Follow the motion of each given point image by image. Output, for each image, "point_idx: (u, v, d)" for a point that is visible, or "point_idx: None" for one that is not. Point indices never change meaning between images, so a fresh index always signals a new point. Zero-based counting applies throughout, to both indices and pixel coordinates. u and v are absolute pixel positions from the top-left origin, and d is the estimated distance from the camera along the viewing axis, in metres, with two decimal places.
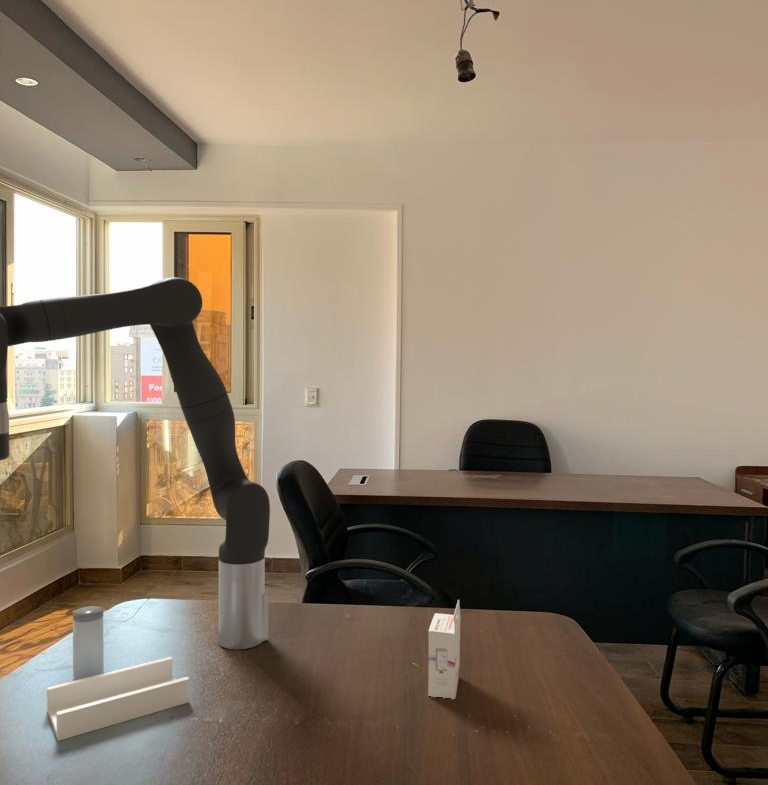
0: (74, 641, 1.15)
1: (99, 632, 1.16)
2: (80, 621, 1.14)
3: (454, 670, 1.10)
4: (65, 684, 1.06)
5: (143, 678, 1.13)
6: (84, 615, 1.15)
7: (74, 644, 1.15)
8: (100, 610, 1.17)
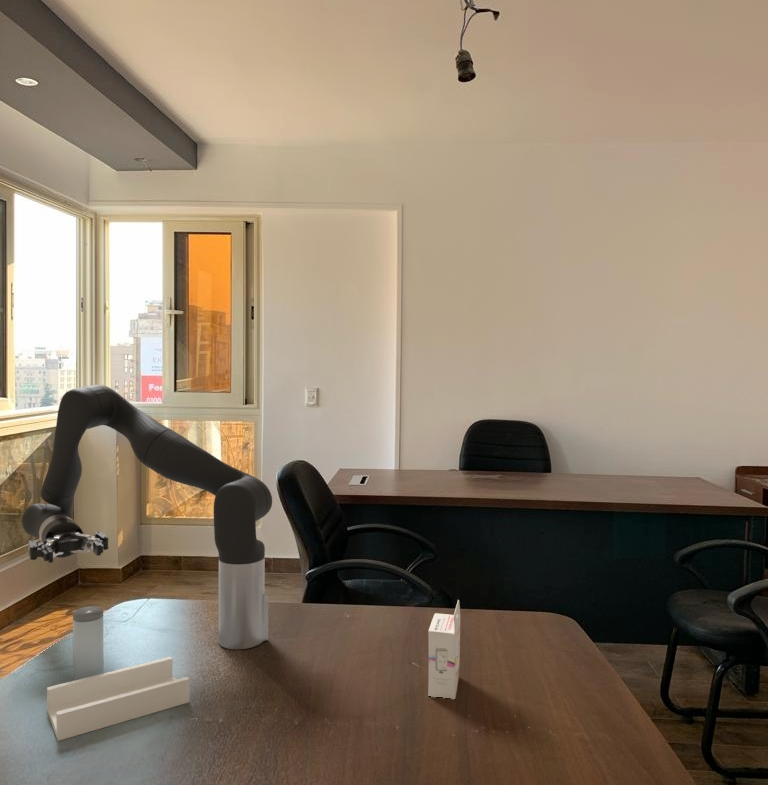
0: (74, 641, 1.15)
1: (99, 632, 1.16)
2: (80, 622, 1.14)
3: (454, 670, 1.10)
4: (65, 684, 1.06)
5: (143, 678, 1.13)
6: (84, 615, 1.15)
7: (74, 644, 1.15)
8: (100, 610, 1.17)
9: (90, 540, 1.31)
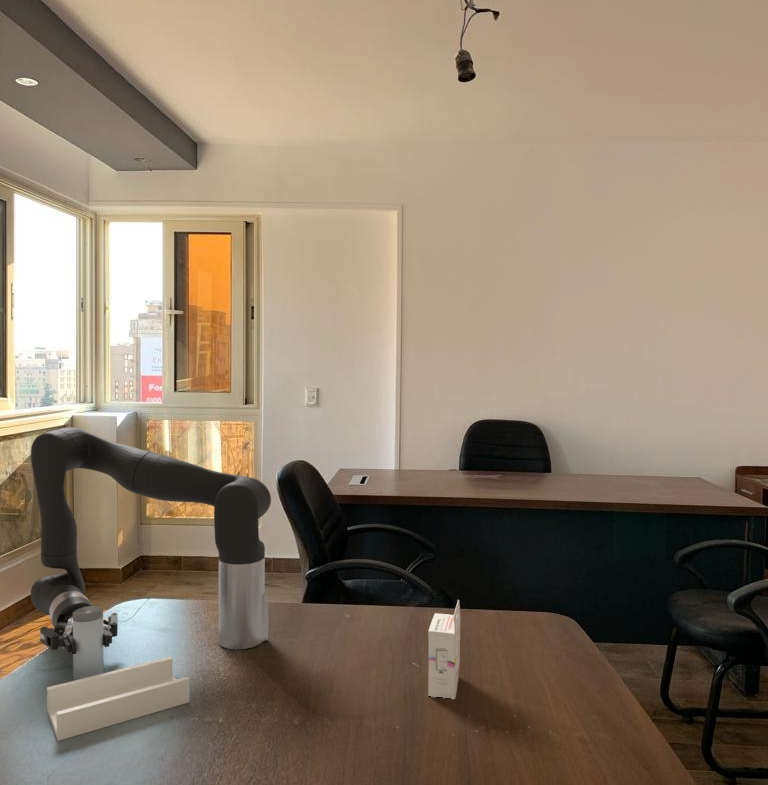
0: None
1: (99, 632, 1.16)
2: (80, 621, 1.14)
3: (454, 670, 1.10)
4: (65, 684, 1.06)
5: (143, 678, 1.13)
6: (84, 615, 1.15)
7: None
8: (100, 610, 1.17)
9: None
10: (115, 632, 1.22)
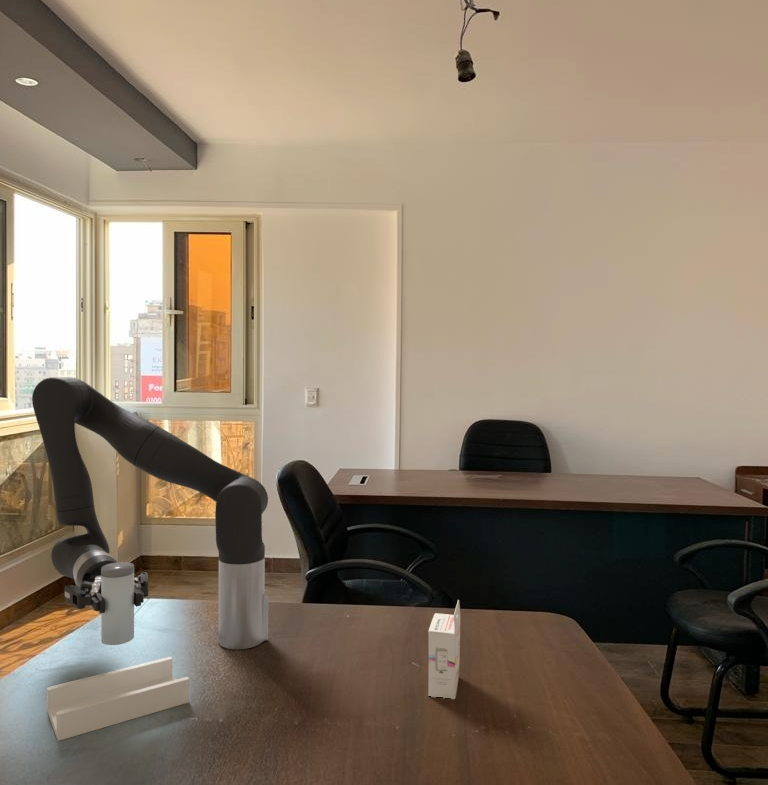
0: None
1: (130, 590, 1.05)
2: (110, 577, 1.04)
3: (454, 670, 1.10)
4: (65, 684, 1.06)
5: (143, 678, 1.13)
6: (114, 570, 1.04)
7: None
8: (131, 566, 1.07)
9: None
10: (146, 592, 1.11)
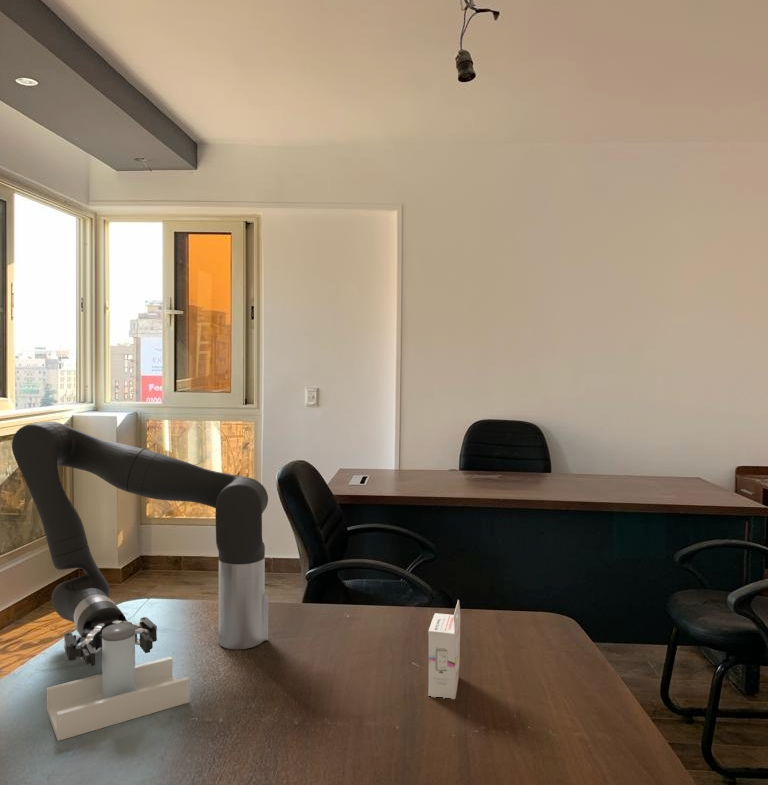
0: (104, 662, 1.05)
1: (131, 652, 1.06)
2: (111, 641, 1.04)
3: (454, 670, 1.10)
4: (65, 684, 1.06)
5: (143, 678, 1.13)
6: (115, 633, 1.05)
7: (104, 665, 1.05)
8: (131, 628, 1.07)
9: (136, 632, 1.11)
10: (155, 636, 1.13)
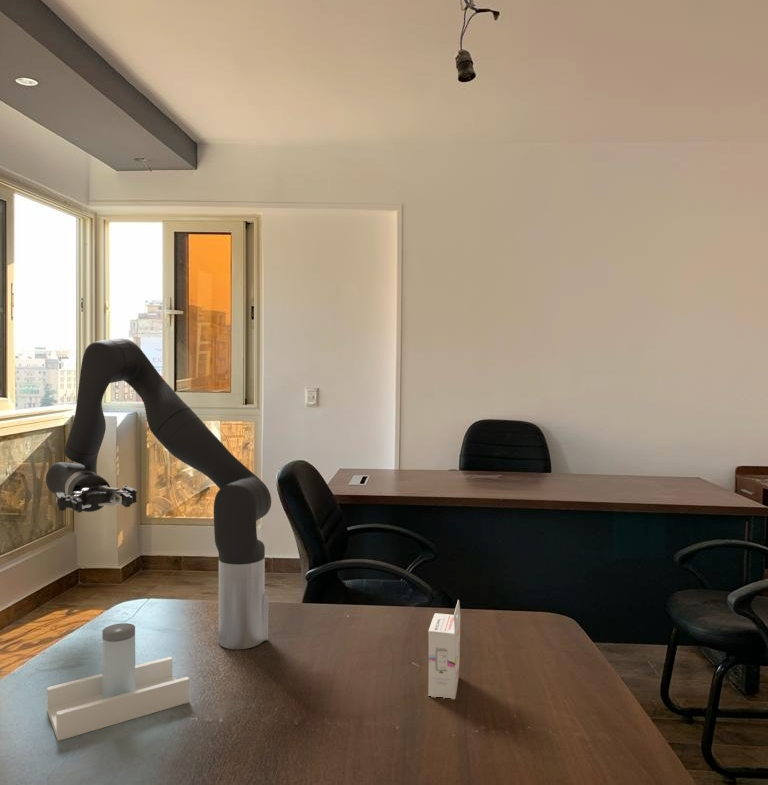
0: (104, 662, 1.05)
1: (131, 653, 1.06)
2: (111, 641, 1.04)
3: (454, 670, 1.10)
4: (65, 684, 1.06)
5: (143, 678, 1.13)
6: (115, 634, 1.04)
7: (104, 666, 1.05)
8: (132, 628, 1.07)
9: (118, 492, 1.28)
10: (135, 498, 1.30)
